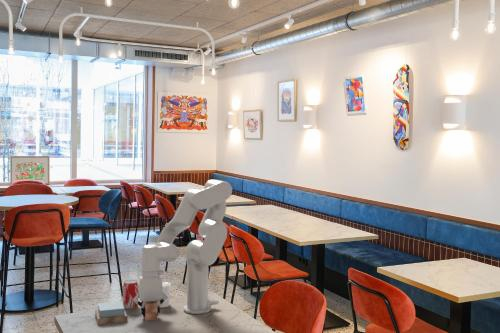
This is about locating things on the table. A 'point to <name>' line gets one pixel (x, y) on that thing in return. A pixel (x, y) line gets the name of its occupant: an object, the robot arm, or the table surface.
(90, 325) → the table surface
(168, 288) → the white cup
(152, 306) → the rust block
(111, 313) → the top block
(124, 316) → the base block
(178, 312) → the table surface
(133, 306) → the soda can
